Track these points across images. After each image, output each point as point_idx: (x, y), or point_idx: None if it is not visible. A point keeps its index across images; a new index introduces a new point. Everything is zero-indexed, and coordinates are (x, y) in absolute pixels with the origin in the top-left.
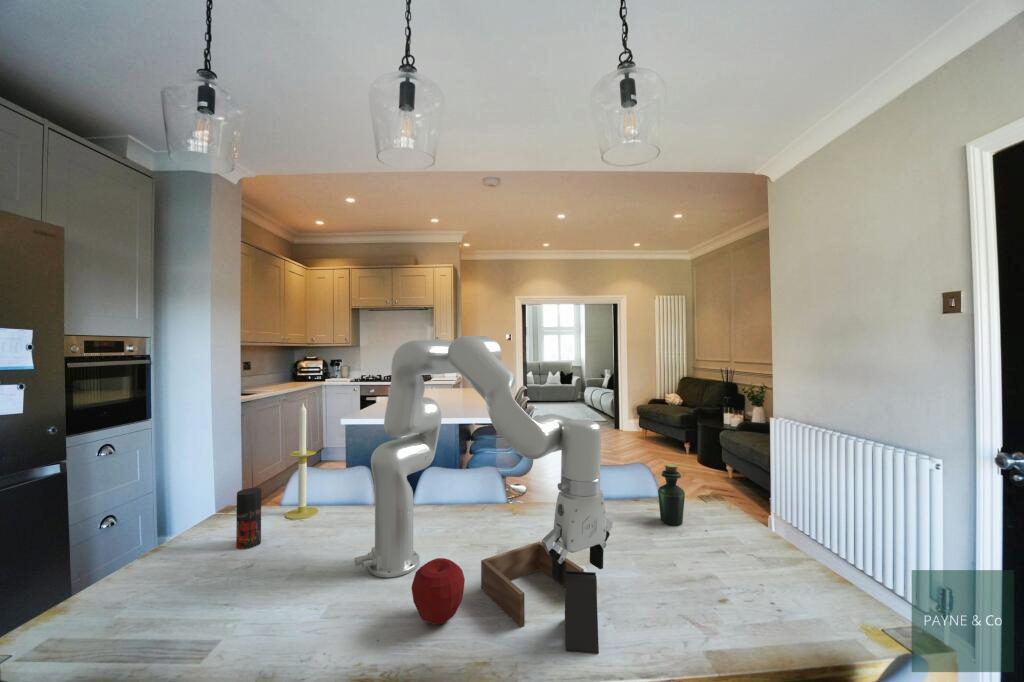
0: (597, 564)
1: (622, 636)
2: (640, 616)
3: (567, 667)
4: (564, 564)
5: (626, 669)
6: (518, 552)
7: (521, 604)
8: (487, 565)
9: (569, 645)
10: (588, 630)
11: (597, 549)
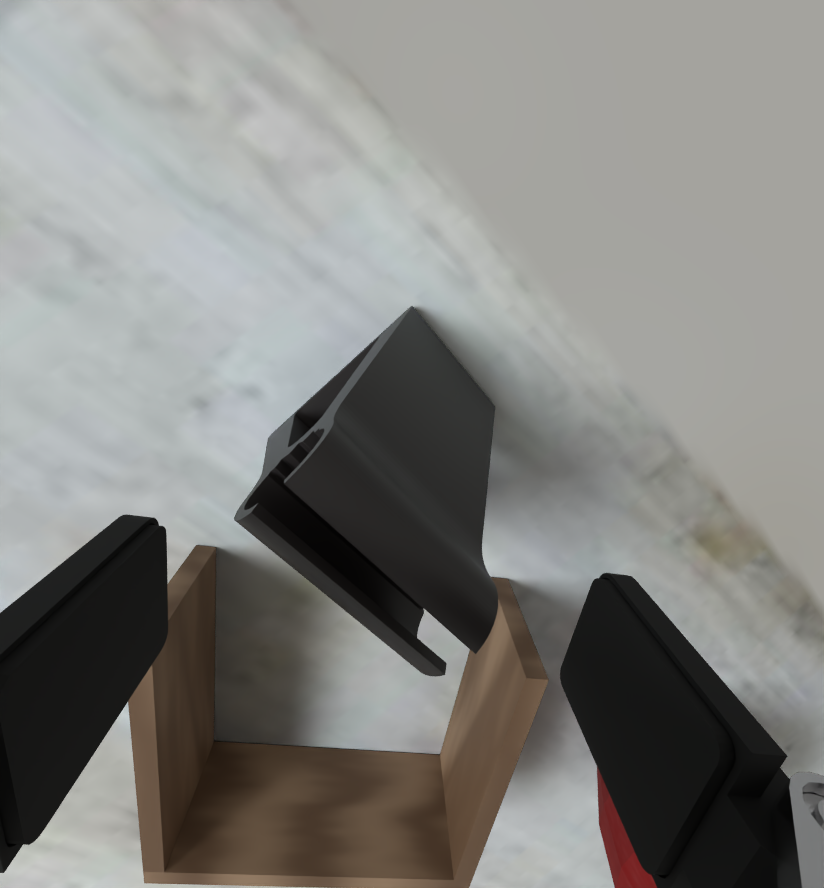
0: (147, 573)
1: (243, 295)
2: (54, 312)
3: (554, 348)
4: (757, 737)
5: (399, 160)
6: (291, 864)
7: (528, 641)
8: (477, 860)
9: (485, 401)
10: (426, 365)
11: (16, 730)
